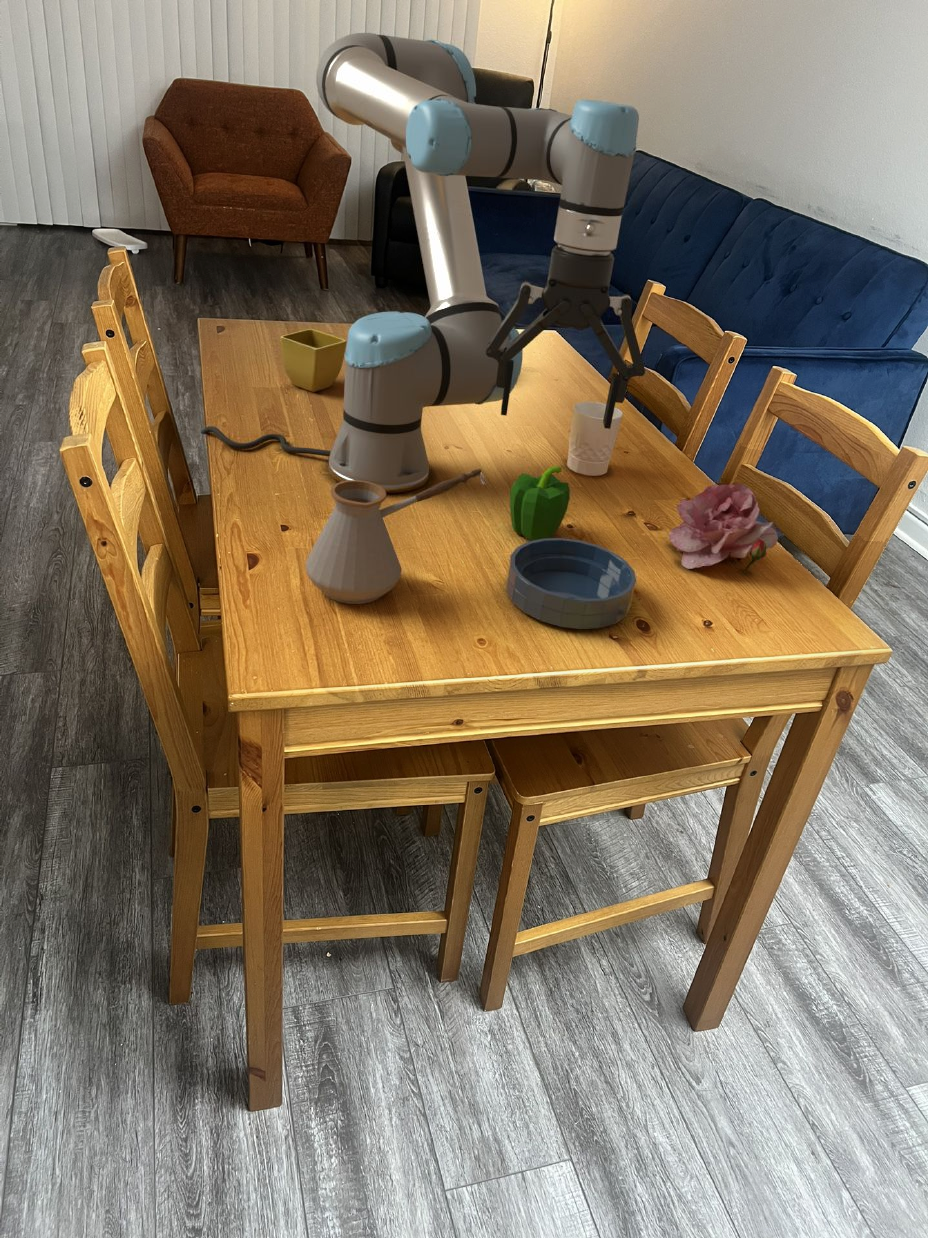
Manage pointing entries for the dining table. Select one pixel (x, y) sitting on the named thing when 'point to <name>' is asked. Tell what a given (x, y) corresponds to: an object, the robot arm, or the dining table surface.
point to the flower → (721, 527)
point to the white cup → (592, 438)
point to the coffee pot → (362, 541)
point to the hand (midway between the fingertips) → (555, 418)
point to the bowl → (570, 583)
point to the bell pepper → (538, 504)
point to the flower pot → (312, 358)
